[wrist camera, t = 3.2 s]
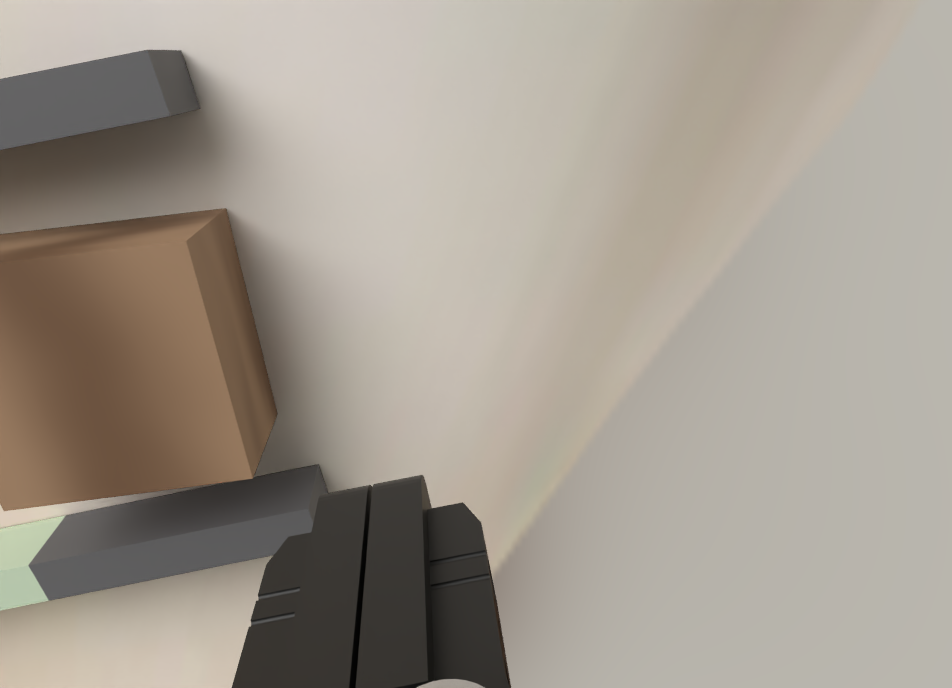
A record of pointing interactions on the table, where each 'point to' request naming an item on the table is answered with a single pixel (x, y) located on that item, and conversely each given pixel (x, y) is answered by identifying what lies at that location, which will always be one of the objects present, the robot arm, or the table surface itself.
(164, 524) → the box
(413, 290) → the table surface
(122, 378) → the walnut block
